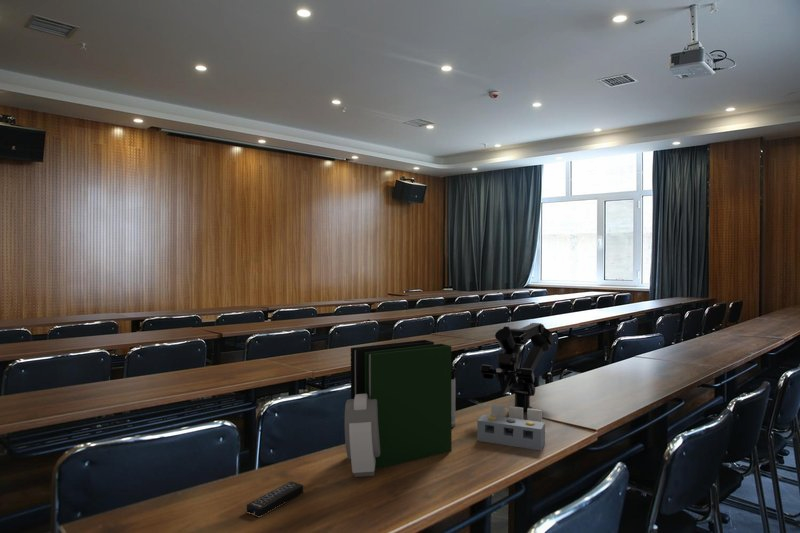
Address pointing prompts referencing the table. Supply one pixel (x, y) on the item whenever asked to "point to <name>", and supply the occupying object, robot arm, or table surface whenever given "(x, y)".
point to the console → (511, 432)
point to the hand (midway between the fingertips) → (502, 394)
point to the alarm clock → (362, 434)
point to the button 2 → (515, 413)
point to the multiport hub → (275, 498)
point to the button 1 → (497, 411)
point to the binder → (406, 397)
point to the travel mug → (453, 397)
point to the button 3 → (534, 416)
